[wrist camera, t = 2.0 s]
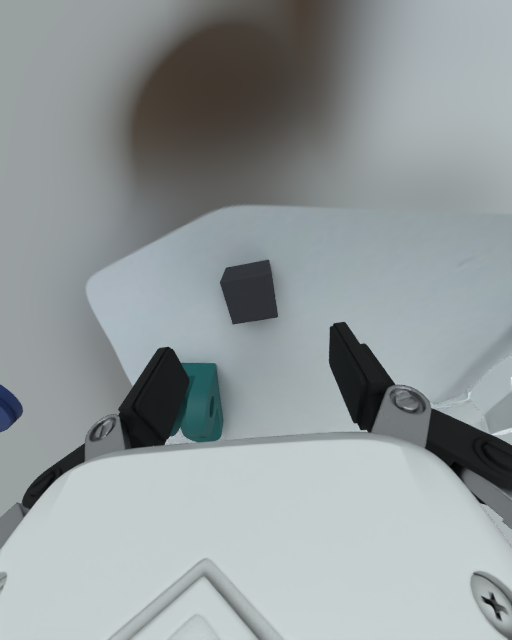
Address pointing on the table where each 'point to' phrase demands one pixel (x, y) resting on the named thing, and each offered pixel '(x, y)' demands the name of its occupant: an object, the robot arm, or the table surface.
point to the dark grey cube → (249, 292)
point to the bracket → (200, 405)
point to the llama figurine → (490, 399)
